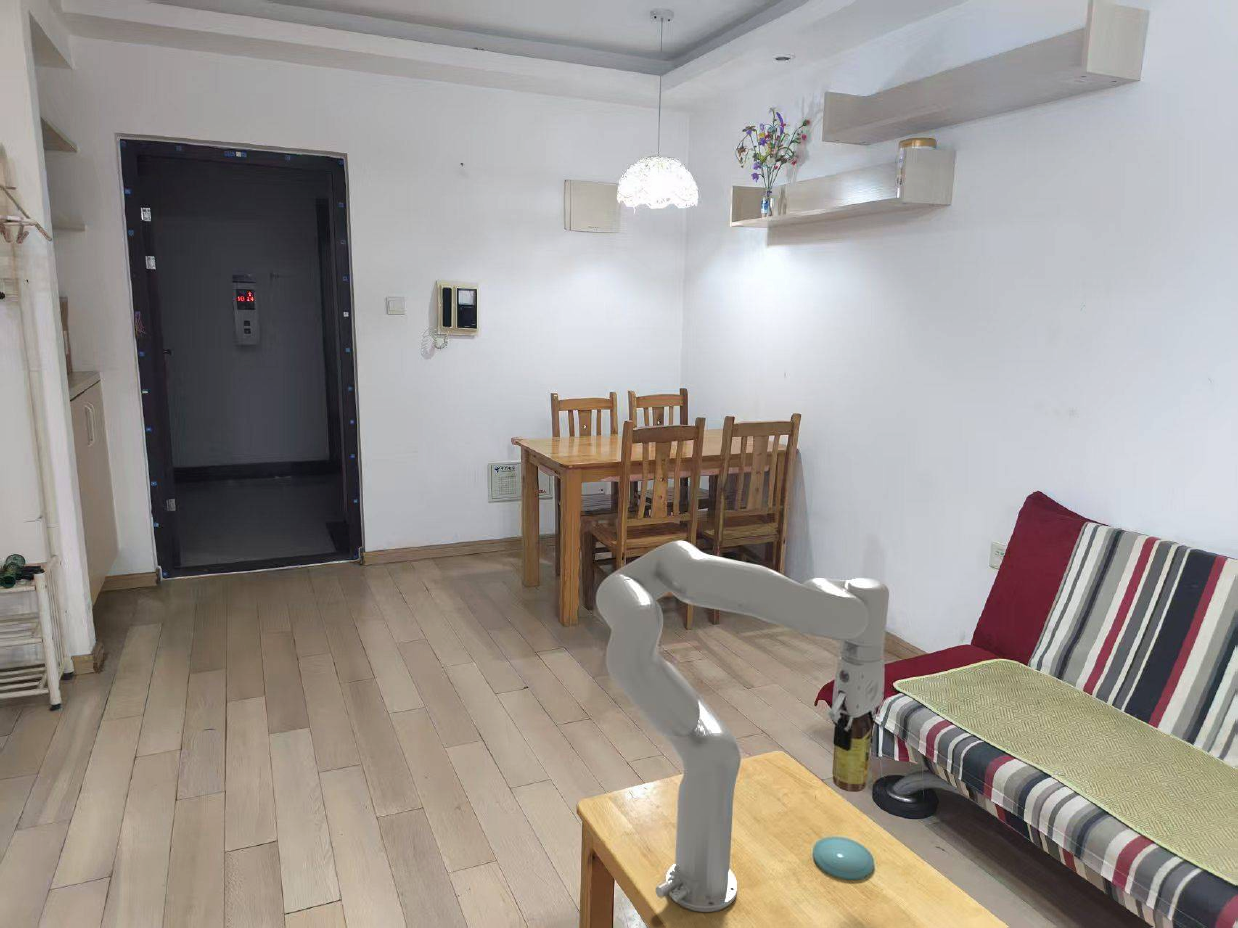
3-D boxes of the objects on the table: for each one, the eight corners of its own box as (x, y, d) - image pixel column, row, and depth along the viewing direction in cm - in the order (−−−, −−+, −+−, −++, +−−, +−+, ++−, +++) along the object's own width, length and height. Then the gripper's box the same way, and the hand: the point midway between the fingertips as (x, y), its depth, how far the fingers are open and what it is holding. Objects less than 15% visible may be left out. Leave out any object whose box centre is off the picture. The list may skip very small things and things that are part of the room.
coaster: (852, 888, 143) (852, 884, 143) (800, 856, 151) (801, 852, 151) (885, 862, 151) (885, 857, 150) (834, 832, 159) (834, 828, 158)
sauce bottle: (870, 794, 145) (880, 692, 141) (836, 793, 145) (845, 691, 141) (860, 773, 151) (870, 675, 147) (827, 772, 151) (835, 674, 147)
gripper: (852, 668, 135) (843, 766, 138) (905, 642, 146) (896, 733, 149) (815, 653, 140) (807, 748, 143) (868, 630, 151) (860, 718, 155)
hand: (852, 740), depth 146 cm, fingers closed on sauce bottle, 6 cm apart
